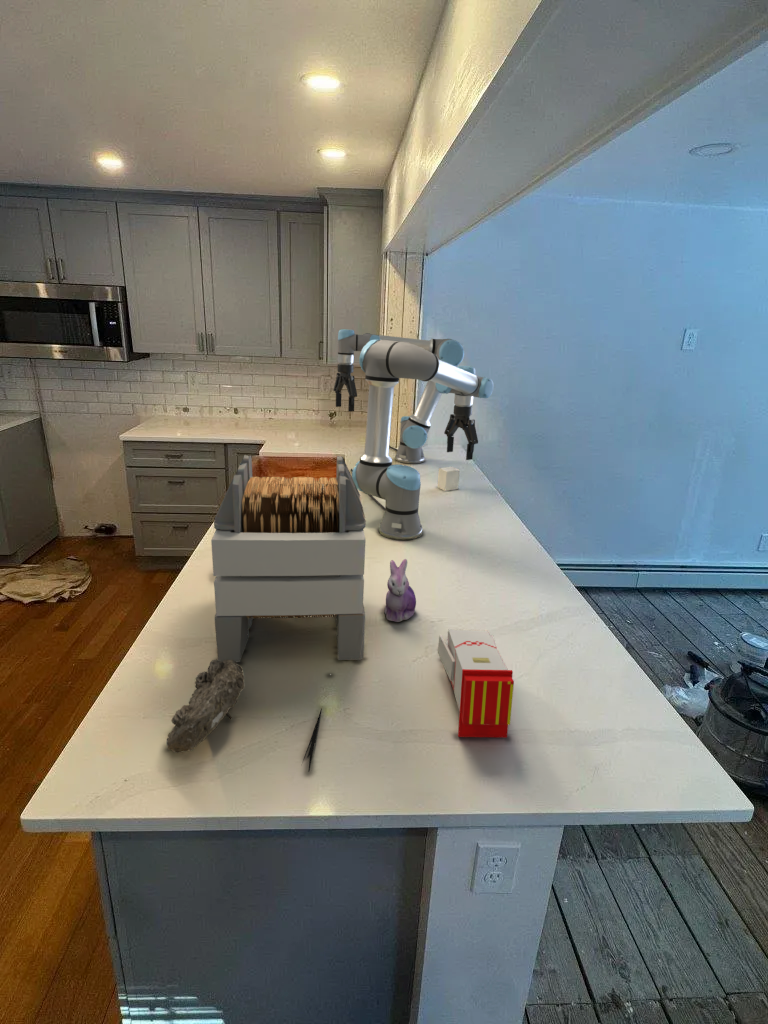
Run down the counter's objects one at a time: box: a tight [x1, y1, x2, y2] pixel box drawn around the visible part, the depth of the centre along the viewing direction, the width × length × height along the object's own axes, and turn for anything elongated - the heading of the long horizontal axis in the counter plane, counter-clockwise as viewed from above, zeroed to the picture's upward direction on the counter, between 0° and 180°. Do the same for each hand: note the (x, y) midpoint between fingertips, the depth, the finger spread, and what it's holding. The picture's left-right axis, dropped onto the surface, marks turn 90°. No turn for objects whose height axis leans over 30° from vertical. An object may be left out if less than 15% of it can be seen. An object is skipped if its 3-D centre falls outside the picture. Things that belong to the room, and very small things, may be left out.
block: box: [437, 466, 460, 492], centre depth 252 cm, size 7×6×9 cm
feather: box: [301, 673, 332, 771], centre depth 108 cm, size 2×28×2 cm
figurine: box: [384, 558, 417, 623], centre depth 145 cm, size 9×10×15 cm
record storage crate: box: [210, 454, 366, 663], centre depth 134 cm, size 34×33×41 cm
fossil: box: [166, 659, 245, 754], centre depth 106 cm, size 22×10×15 cm
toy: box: [437, 628, 515, 738], centre depth 117 cm, size 12×13×30 cm
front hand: (459, 455), depth 239 cm, fingers open, 13 cm apart
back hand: (344, 409), depth 274 cm, fingers open, 13 cm apart
